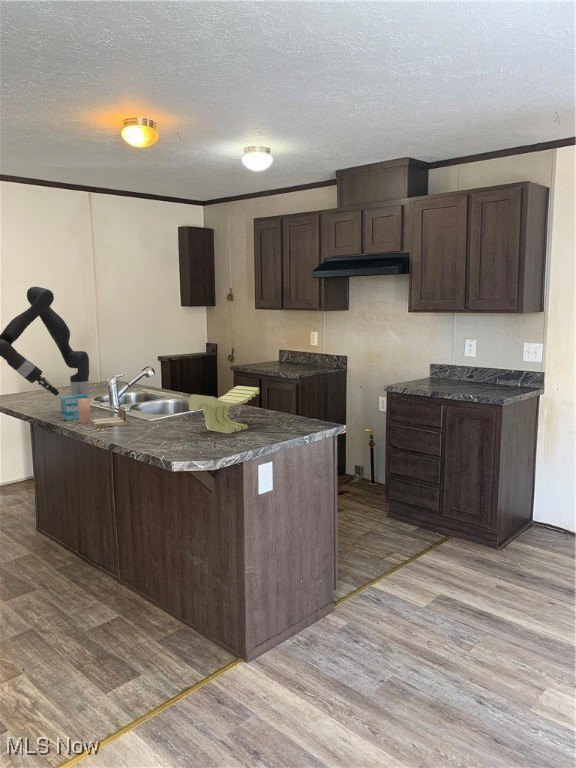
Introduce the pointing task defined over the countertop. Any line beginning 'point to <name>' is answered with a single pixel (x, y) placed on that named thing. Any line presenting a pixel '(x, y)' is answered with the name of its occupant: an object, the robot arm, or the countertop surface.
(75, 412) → the data package
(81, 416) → the peach dome-topped cylinder
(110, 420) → the wooden l-shaped stand
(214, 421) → the slatted curved stool
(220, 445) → the countertop surface
